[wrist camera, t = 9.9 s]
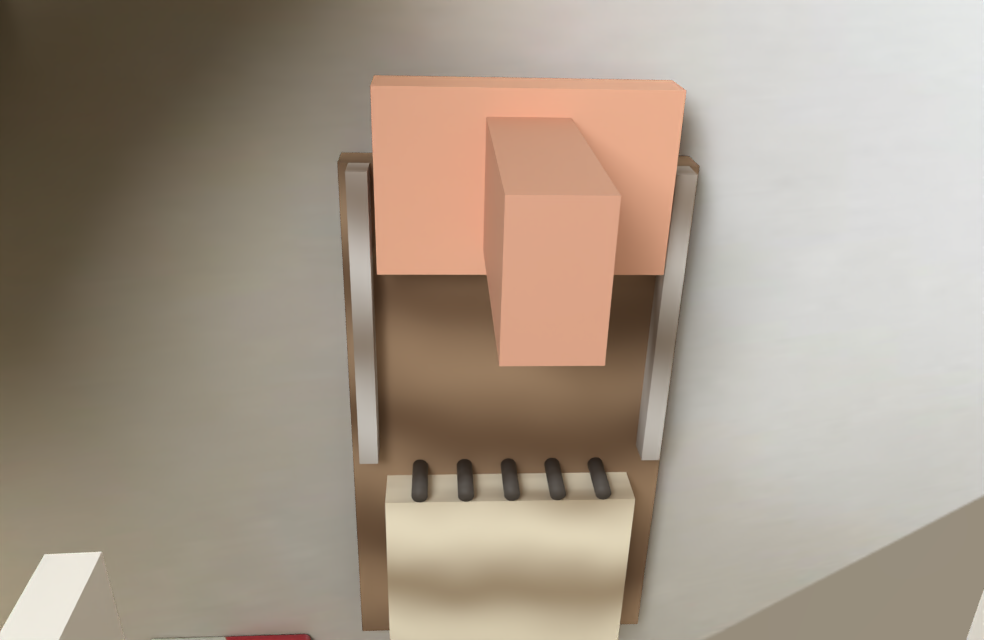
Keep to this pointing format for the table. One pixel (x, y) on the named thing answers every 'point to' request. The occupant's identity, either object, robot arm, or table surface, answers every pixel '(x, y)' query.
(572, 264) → the stub
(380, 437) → the board
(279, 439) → the table surface
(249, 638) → the ink box
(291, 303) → the table surface
